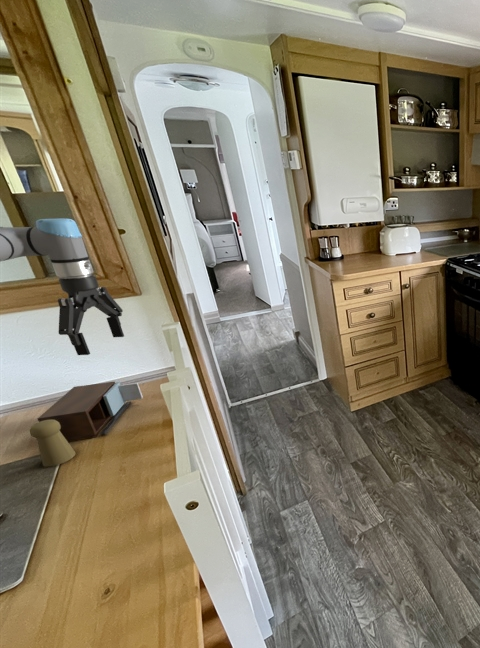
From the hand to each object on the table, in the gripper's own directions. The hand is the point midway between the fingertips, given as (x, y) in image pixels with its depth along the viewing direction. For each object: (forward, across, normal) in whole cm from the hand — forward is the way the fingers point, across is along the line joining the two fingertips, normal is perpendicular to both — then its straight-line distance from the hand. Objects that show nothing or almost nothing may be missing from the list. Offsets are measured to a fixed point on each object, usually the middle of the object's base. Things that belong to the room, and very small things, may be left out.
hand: (102, 345), depth 113 cm
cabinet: (+21, -9, +2) cm, 23 cm away
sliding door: (+20, -3, -3) cm, 21 cm away
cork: (+21, -26, -1) cm, 33 cm away
